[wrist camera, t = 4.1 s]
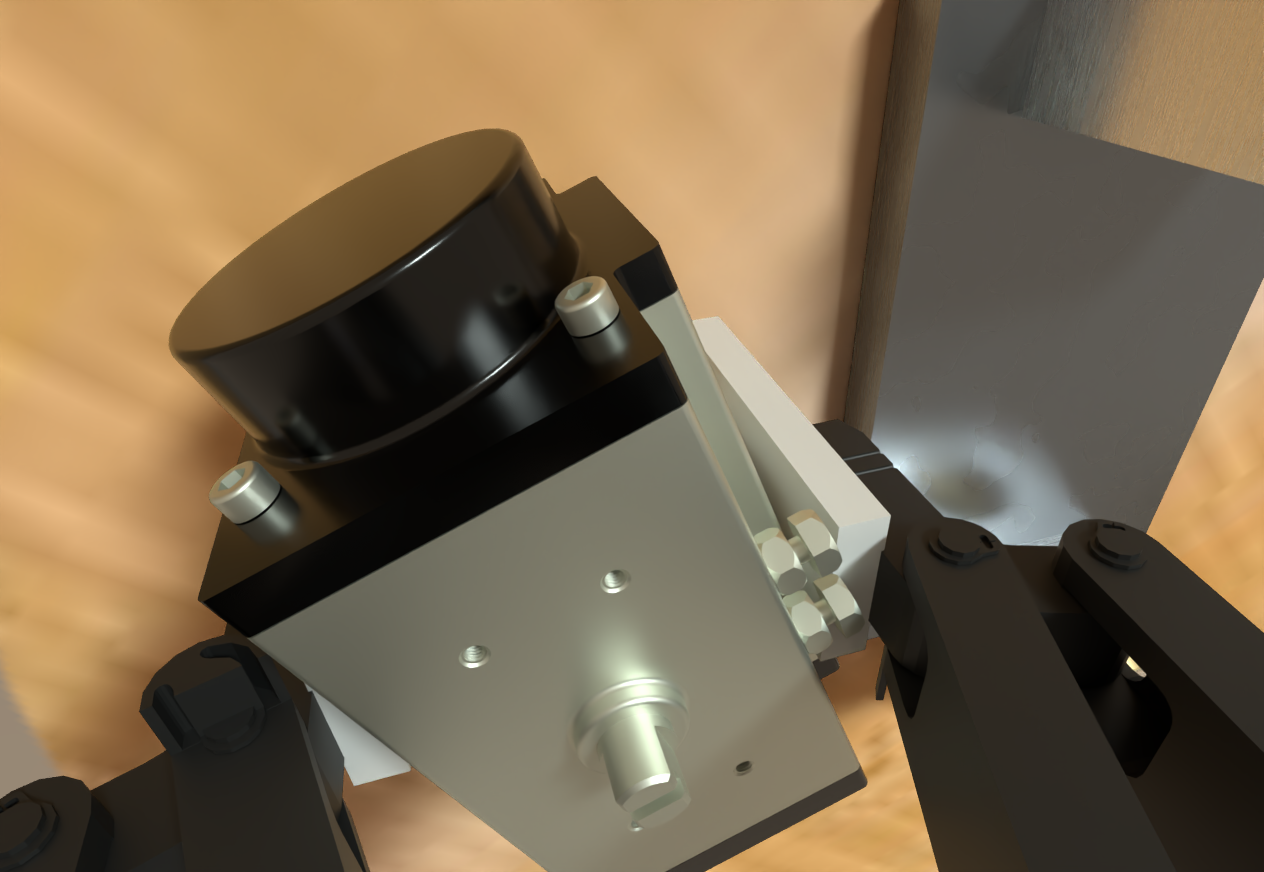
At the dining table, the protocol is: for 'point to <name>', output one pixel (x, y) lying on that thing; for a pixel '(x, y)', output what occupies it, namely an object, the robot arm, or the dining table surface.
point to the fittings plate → (1058, 251)
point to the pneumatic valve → (518, 515)
